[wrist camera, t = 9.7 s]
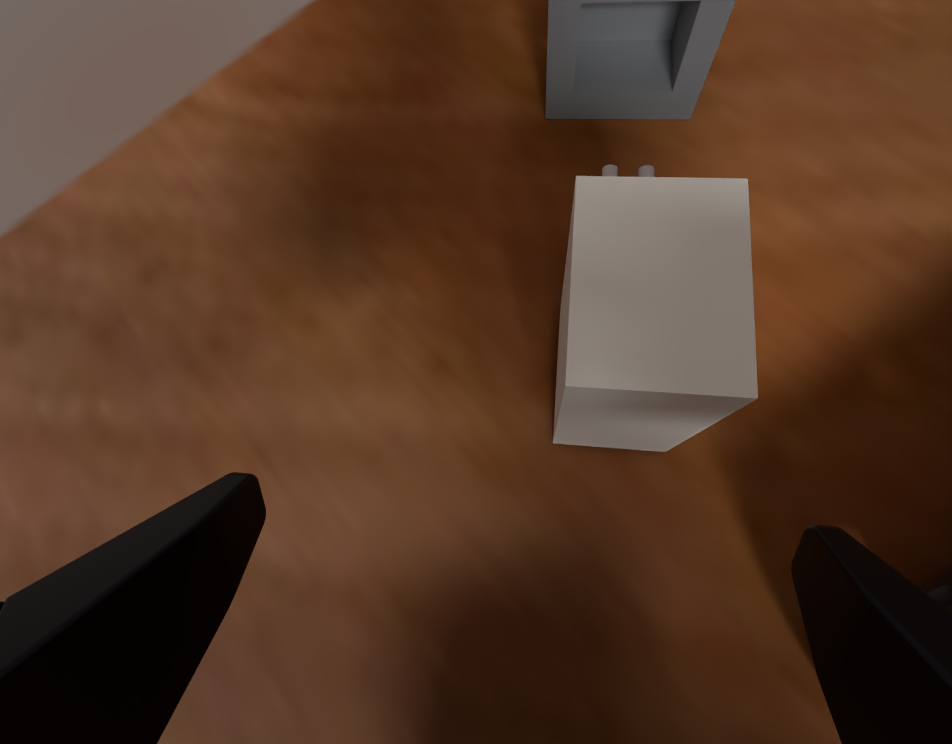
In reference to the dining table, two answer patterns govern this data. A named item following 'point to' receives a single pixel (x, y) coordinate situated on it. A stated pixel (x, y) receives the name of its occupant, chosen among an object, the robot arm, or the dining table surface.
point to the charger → (654, 310)
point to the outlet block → (630, 56)
